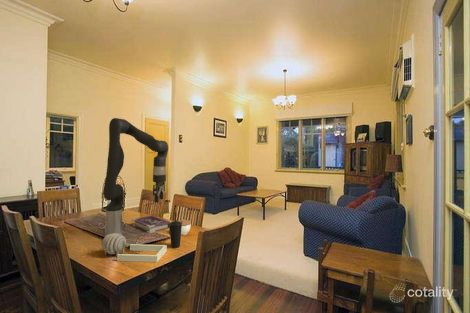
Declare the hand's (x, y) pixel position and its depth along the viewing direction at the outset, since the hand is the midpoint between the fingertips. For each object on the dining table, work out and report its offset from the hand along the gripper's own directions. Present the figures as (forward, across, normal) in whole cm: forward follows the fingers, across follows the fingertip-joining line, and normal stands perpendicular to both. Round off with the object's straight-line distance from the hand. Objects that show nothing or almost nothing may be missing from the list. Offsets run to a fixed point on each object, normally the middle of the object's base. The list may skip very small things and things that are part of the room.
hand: (158, 200), depth 152 cm
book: (+26, -30, -16) cm, 43 cm away
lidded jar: (+25, -16, +11) cm, 32 cm away
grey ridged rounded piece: (+26, +19, -17) cm, 36 cm away
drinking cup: (+25, +7, +13) cm, 29 cm away
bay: (+25, +20, -2) cm, 32 cm away
